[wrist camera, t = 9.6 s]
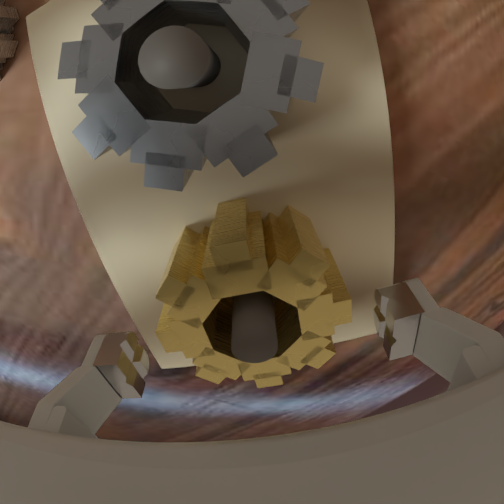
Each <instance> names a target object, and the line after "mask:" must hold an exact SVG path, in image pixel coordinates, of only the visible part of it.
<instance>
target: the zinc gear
mask: <svg viewBox="0 0 504 504" xmlns="http://www.w3.org/2000/svg"><path fill="white" fill-rule="evenodd" d="M4 3H5V0H0V71H1V70H2V69H3V65H2V63H6V61H7V57H14V55H15V51H16V48H17V45H18V41H14V40H13V37H14V34H10V33H11V32H12V31H13V30H14V26H13V25H14V24H15V23H16V22H17V21H18V20H19V19H20V18H19V15H18V12H17V9H16V8H14V7H8V6H3V5H4ZM1 79H2V76H1V74H0V80H1Z"/></svg>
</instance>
